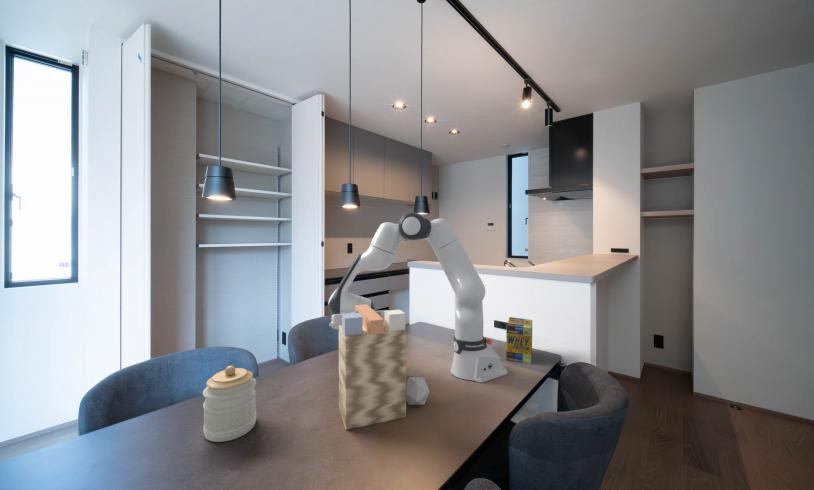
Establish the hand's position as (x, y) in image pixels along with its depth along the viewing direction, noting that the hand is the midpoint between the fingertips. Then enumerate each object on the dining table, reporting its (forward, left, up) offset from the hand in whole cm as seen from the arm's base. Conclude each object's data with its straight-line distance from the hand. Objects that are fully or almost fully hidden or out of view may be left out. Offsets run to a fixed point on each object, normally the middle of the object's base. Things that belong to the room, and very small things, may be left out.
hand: (364, 312), depth 105 cm
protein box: (-74, -11, -29) cm, 80 cm away
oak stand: (0, +10, -28) cm, 30 cm away
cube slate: (+7, +12, -2) cm, 14 cm away
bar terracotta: (0, +5, -2) cm, 6 cm away
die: (-15, +9, -29) cm, 34 cm away
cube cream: (-6, +12, -2) cm, 14 cm away
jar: (+39, +4, -29) cm, 49 cm away
